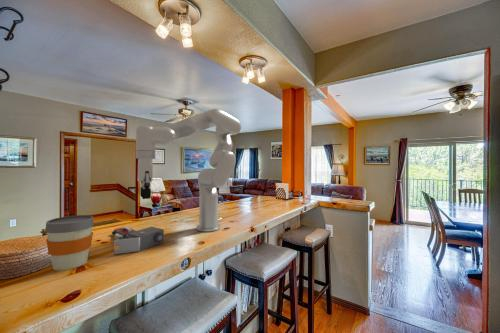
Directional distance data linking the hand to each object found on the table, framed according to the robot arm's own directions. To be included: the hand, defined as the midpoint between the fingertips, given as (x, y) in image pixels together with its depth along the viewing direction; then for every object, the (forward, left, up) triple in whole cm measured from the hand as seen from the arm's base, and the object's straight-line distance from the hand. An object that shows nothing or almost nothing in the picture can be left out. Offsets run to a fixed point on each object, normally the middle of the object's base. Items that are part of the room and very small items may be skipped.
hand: (145, 197), depth 93 cm
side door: (+10, +4, -19) cm, 22 cm away
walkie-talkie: (0, -13, -20) cm, 24 cm away
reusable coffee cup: (+25, -4, -20) cm, 32 cm away
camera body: (+1, +2, -20) cm, 20 cm away
